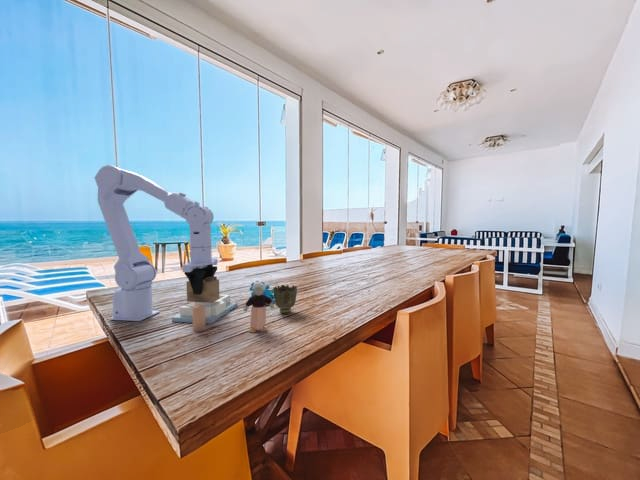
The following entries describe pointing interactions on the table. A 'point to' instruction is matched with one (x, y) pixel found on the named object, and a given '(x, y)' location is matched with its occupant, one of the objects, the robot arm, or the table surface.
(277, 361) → the table surface
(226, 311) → the jig
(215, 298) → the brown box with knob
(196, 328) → the tail peg
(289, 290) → the cup
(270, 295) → the blue white lumpy piece
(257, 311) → the grandmother figurine
